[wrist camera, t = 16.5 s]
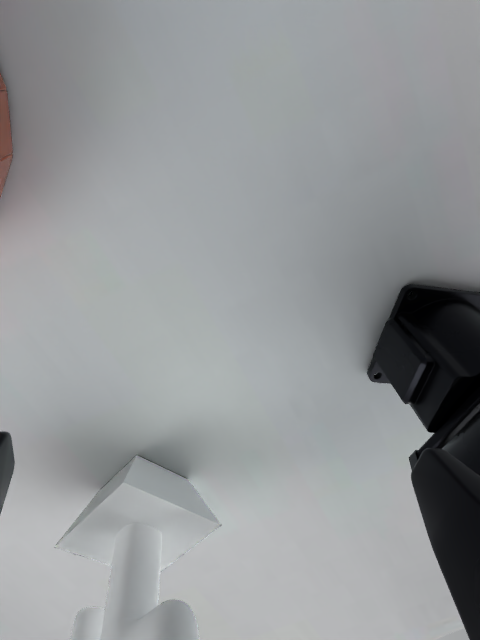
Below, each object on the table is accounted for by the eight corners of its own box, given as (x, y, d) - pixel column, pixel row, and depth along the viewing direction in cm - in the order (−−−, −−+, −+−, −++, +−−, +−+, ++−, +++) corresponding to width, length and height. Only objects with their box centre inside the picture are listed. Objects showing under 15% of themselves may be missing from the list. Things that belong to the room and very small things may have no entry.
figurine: (60, 502, 28) (-43, 854, 16) (141, 422, 25) (96, 775, 13) (146, 535, 31) (119, 852, 19) (228, 467, 28) (262, 788, 16)
